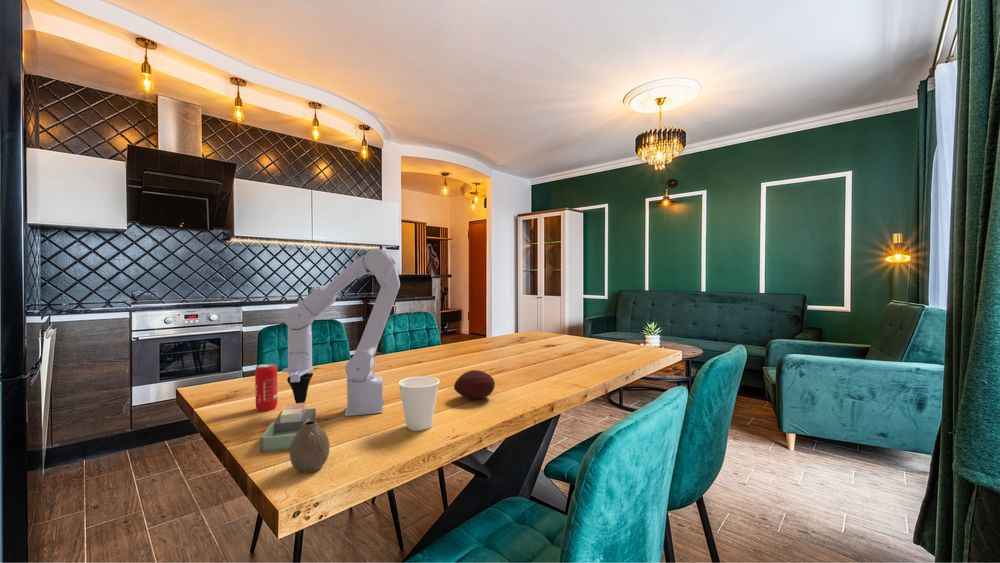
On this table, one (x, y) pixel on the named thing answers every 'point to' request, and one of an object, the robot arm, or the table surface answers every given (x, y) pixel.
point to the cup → (419, 401)
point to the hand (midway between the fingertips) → (300, 402)
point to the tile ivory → (291, 415)
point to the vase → (309, 448)
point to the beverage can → (266, 387)
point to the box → (276, 439)
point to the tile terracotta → (296, 406)
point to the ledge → (294, 425)
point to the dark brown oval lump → (474, 384)
